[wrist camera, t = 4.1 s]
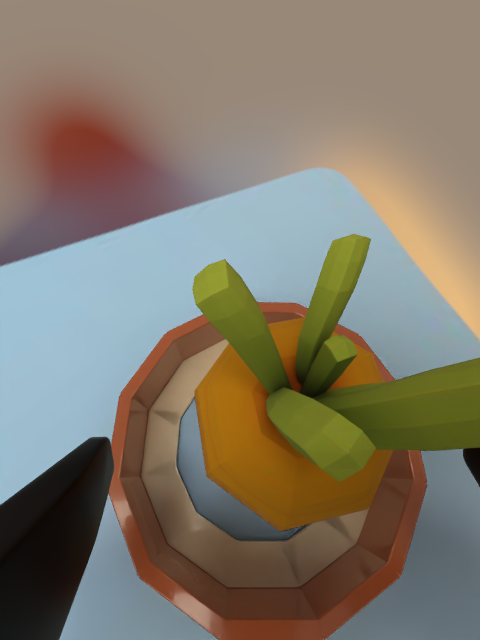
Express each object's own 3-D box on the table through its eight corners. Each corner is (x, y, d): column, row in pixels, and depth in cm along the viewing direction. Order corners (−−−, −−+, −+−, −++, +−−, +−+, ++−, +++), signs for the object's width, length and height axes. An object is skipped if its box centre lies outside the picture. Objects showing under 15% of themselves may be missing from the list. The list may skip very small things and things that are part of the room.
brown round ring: (440, 495, 16) (491, 502, 13) (205, 679, 13) (197, 747, 10) (293, 295, 21) (305, 264, 18) (97, 395, 18) (68, 379, 15)
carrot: (195, 429, 17) (52, 276, 3) (269, 378, 18) (378, 120, 5) (248, 519, 15) (373, 901, 2) (326, 456, 17) (745, 400, 3)
